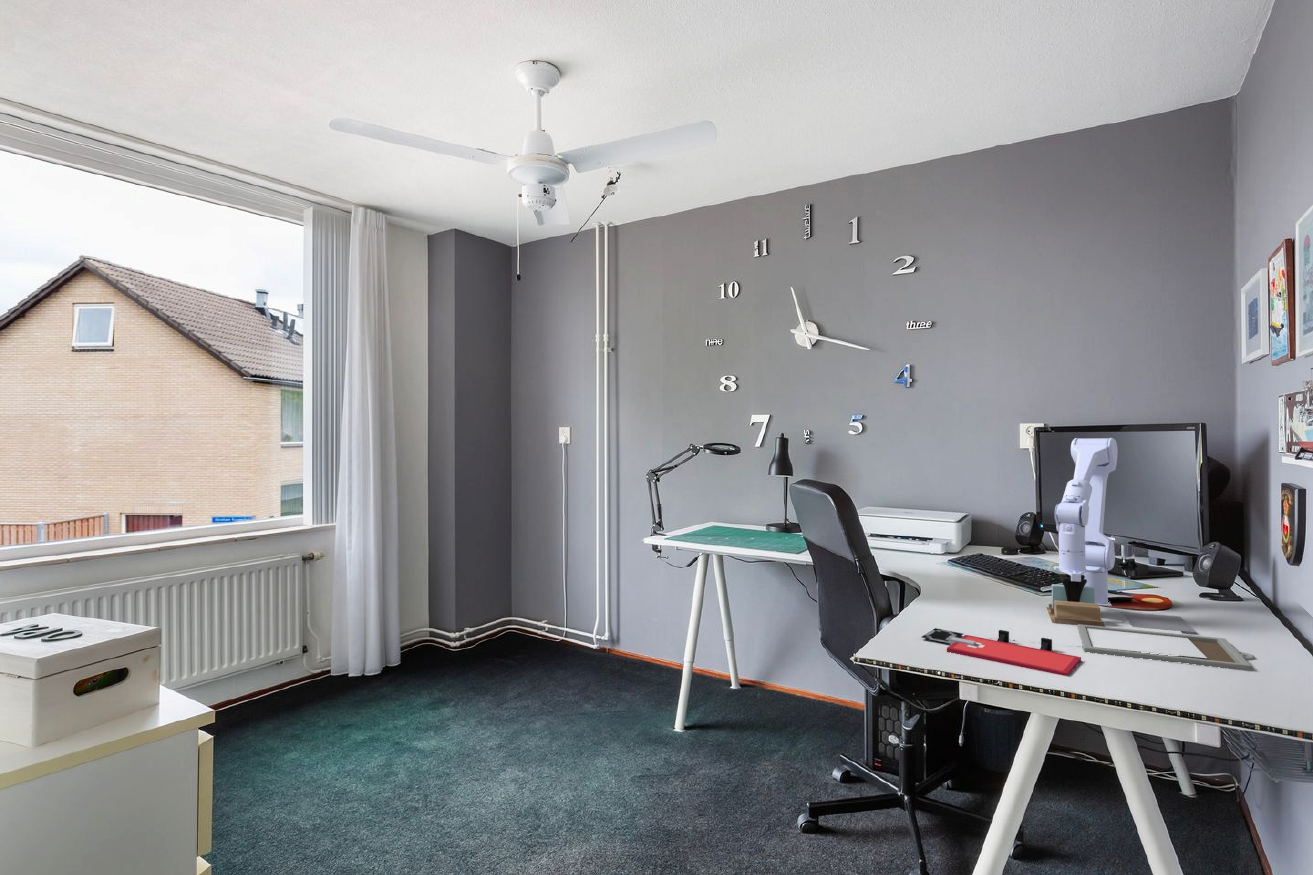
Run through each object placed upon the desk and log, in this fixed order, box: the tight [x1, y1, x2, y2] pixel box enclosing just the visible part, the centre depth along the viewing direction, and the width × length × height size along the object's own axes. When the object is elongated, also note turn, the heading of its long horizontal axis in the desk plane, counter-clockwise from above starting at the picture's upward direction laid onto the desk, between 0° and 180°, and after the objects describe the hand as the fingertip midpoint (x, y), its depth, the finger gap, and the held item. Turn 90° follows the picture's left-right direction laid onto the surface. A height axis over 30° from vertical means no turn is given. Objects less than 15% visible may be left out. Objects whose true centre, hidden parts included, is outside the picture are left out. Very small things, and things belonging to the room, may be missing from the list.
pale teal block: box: [1051, 583, 1095, 608], centre depth 172 cm, size 2×9×6 cm, turn 65°
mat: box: [1121, 611, 1198, 635], centre depth 163 cm, size 14×12×1 cm
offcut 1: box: [1054, 600, 1100, 616], centre depth 166 cm, size 2×9×4 cm, turn 65°
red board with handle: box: [921, 627, 1082, 677], centre depth 146 cm, size 30×3×15 cm
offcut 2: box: [1055, 603, 1101, 621], centre depth 164 cm, size 2×9×4 cm, turn 65°
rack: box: [1046, 603, 1107, 627], centre depth 168 cm, size 16×11×2 cm
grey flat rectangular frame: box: [1076, 624, 1256, 672], centre depth 146 cm, size 19×2×30 cm
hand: (1072, 604), depth 172 cm, fingers closed on pale teal block, 2 cm apart
